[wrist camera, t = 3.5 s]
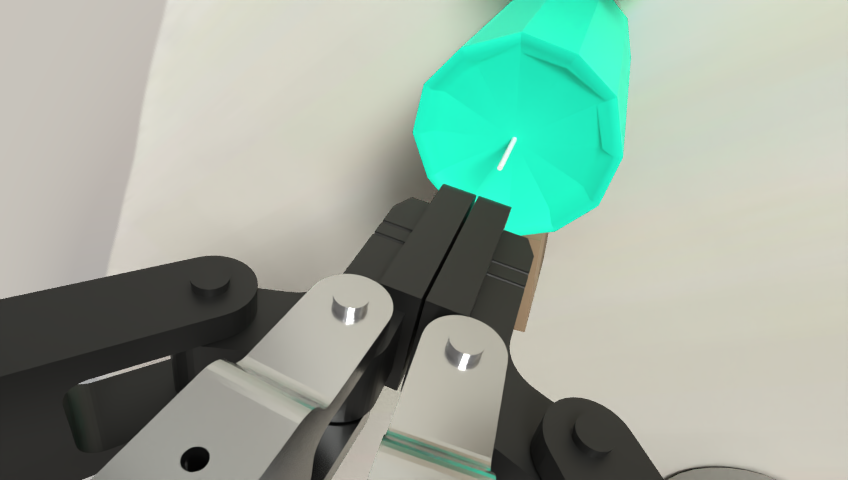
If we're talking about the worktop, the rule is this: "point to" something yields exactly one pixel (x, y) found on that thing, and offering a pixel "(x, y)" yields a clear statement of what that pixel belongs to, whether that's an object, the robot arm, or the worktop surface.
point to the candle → (532, 111)
